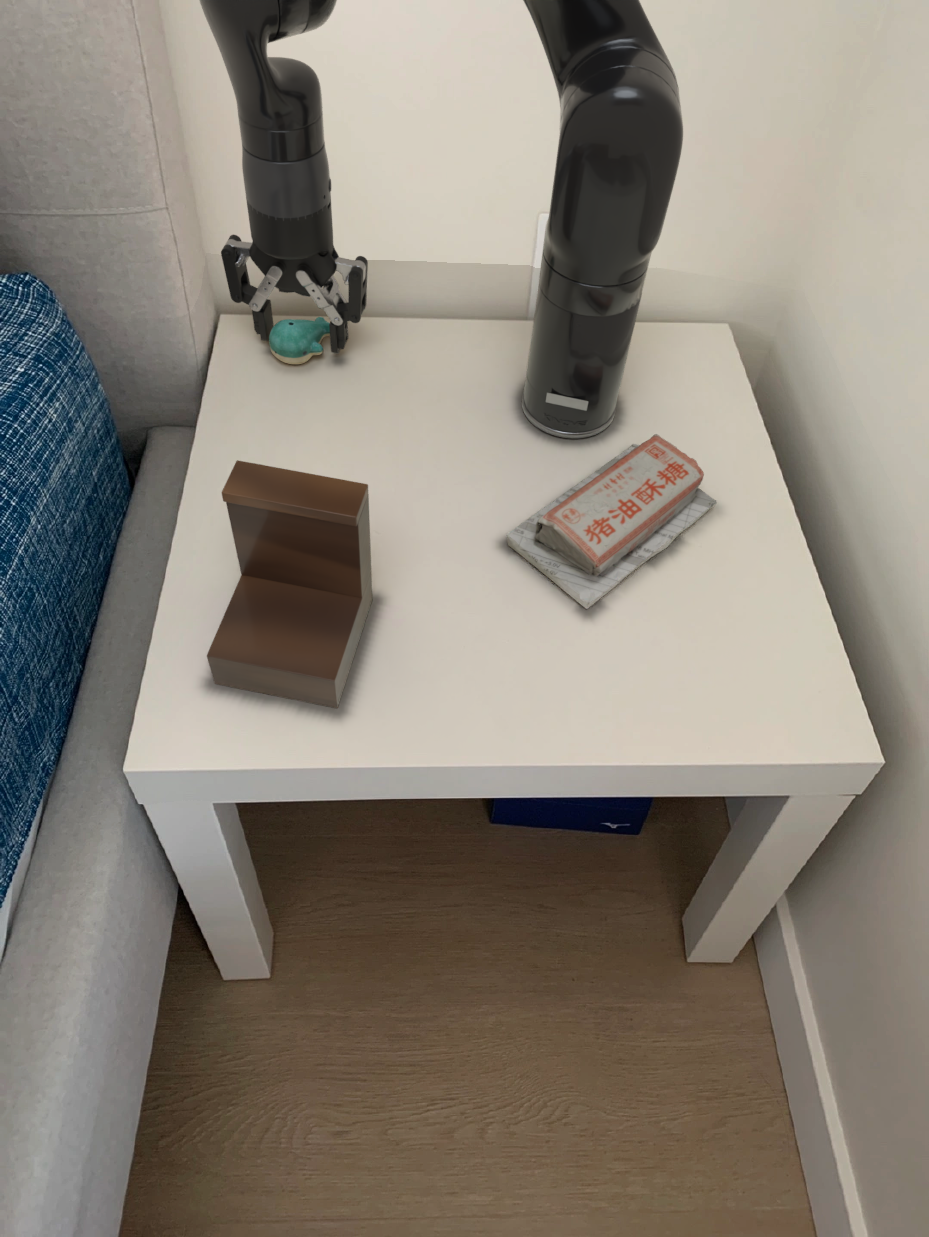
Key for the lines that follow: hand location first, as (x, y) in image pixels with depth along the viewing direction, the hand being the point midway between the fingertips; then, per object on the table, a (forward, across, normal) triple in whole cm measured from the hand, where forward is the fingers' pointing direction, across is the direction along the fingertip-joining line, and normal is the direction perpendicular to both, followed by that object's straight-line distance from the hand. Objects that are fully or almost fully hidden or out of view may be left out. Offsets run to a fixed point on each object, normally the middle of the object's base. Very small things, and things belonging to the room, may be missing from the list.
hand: (302, 342), depth 101 cm
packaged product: (+1, +34, -17) cm, 38 cm away
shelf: (+1, +10, -35) cm, 37 cm away
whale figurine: (+1, 0, 0) cm, 1 cm away
